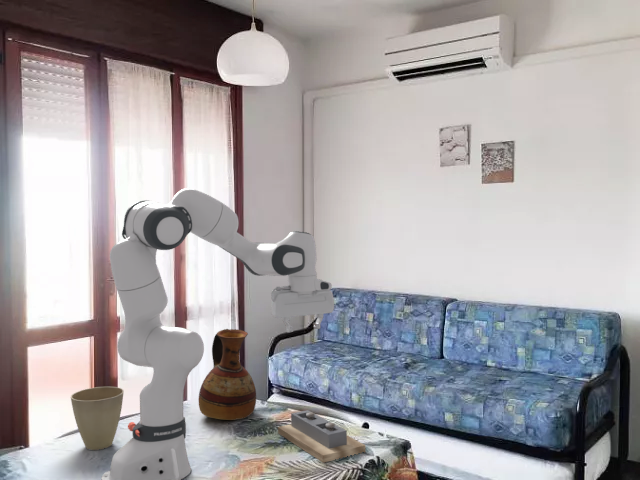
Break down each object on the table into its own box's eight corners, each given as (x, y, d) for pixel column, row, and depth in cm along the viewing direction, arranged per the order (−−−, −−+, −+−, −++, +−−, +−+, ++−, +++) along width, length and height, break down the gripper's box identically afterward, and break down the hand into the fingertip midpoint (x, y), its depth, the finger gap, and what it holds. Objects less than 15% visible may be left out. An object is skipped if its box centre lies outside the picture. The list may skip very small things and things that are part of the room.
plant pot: (63, 446, 177) (62, 393, 177) (111, 433, 188) (109, 384, 187) (85, 459, 167) (83, 403, 166) (134, 445, 177) (132, 392, 177)
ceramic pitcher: (219, 430, 189) (217, 337, 188) (187, 416, 204) (185, 330, 203) (268, 416, 202) (266, 329, 202) (234, 404, 217) (233, 323, 216)
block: (328, 448, 165) (328, 434, 165) (291, 426, 185) (291, 413, 185) (346, 444, 168) (346, 430, 168) (308, 422, 188) (307, 410, 188)
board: (323, 462, 161) (322, 436, 160) (278, 433, 185) (277, 410, 185) (365, 452, 168) (365, 427, 167) (316, 425, 192) (316, 403, 192)
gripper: (276, 288, 171) (277, 335, 171) (336, 283, 181) (337, 328, 181) (266, 286, 176) (267, 332, 177) (325, 282, 187) (326, 325, 187)
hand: (303, 330), depth 179 cm, fingers open, 8 cm apart
